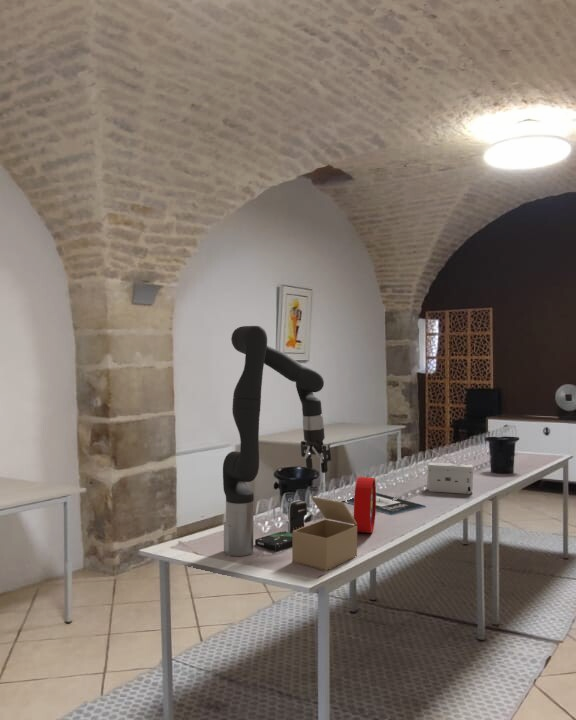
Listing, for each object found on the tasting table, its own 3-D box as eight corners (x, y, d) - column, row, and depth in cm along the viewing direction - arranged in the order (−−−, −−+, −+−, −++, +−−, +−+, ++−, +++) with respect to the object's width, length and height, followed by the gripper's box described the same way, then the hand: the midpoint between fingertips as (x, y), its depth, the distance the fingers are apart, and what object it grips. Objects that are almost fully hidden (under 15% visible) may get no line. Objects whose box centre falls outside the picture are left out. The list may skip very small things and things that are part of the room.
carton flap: (342, 503, 212) (343, 502, 212) (311, 498, 219) (312, 496, 220) (356, 524, 219) (357, 523, 219) (325, 518, 226) (326, 517, 227)
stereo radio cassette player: (472, 491, 317) (473, 449, 316) (472, 495, 309) (473, 452, 308) (427, 488, 322) (428, 447, 321) (426, 492, 314) (427, 450, 313)
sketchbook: (391, 516, 272) (392, 511, 271) (340, 502, 295) (340, 497, 295) (425, 508, 285) (425, 503, 285) (374, 495, 308) (374, 490, 308)
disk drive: (276, 554, 222) (305, 543, 233) (276, 545, 222) (305, 535, 233) (254, 547, 229) (283, 537, 240) (254, 539, 229) (283, 529, 240)
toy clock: (369, 539, 237) (370, 483, 237) (353, 538, 239) (354, 482, 238) (375, 524, 257) (376, 473, 256) (360, 523, 258) (361, 472, 257)
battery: (294, 535, 242) (295, 504, 241) (287, 533, 244) (287, 502, 244) (308, 531, 247) (308, 500, 246) (300, 529, 249) (301, 499, 249)
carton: (326, 570, 204) (326, 538, 204) (292, 562, 212) (292, 530, 212) (356, 556, 219) (357, 525, 219) (323, 548, 227) (324, 519, 226)
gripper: (293, 426, 246) (297, 469, 247) (318, 431, 234) (321, 476, 236) (309, 423, 250) (312, 465, 252) (334, 427, 239) (337, 471, 240)
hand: (317, 470), depth 244 cm, fingers open, 8 cm apart
